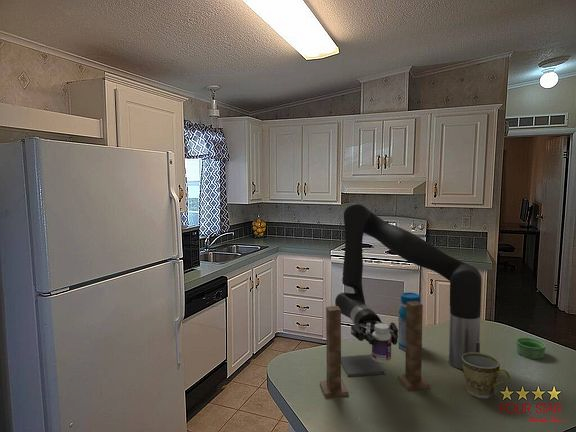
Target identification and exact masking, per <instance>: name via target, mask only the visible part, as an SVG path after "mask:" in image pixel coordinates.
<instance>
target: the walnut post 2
mask: <svg viewBox="0 0 576 432" xmlns="http://www.w3.org/2000/svg"><path fill="white" fill-rule="evenodd" d="M423 307H424V306H423V304H422V303H421V302H420V303H419V302H418V301H412V302H406V351H405V361H404V362H405V363H404V364H405V366H404V367H405V373H402V374H397V379H398V380H399V383H401V385H402V386H403V387H404V388H405V390H407V391H413V390H424V389H425V390H426V389H430V382H428V381H427V380H426V379H425V377H423V375H422V360H423V359H422V357H423V356H422V355H423V353H422V351H423V311H424V310H423Z"/></svg>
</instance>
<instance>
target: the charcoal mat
mask: <svg viewBox="0 0 576 432" xmlns="http://www.w3.org/2000/svg"><path fill="white" fill-rule="evenodd" d="M341 367H342V368H343V369H344V371H345V373H346V376H347V377H358V376H371V375H381V374H382V375H383V374H385V370H384V368H382V366H381V365H380V363H379V362H377V361H375V360H373V358H372V353H371V354H361V355H360V354H358V355H350V356H349V355H348V356H341Z"/></svg>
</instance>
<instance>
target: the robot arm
mask: <svg viewBox="0 0 576 432" xmlns="http://www.w3.org/2000/svg"><path fill="white" fill-rule="evenodd" d="M343 223H344V224H343V226H344V241H345V242H344V255H343V256H344V257H343V266H342V267H343V268H342V280H341V281H342V284H343V285H344V286H346V287H349V288H351V289H353V291H354V293H353V292H352V293H351V292H340V293H339V294H338V295H336V297H335V302H334V304H335V305H334V306H338V307H339V308H340V309H341V315H343V316H345V317H347V318H349V319H350V320H351V321H352V324H353V325H351V326H350V334H351V335H352V336H353V337H354V338H356V339H357V340H358V341H360V342H363V341H364V340H365V342H367V343H368V344H369V345H370V346H371V347H372V346H376V339H375V337H374V336H373V335H372V333H373V332H374V331H375V329H374V328H375V324H378V323H383V324H386V323H384V322H382V319H381V318H380V317H379V315H378V314H376V312H374V310H373V309H372V308H370V307H369V306H368V305H366V300H365V295H364V289H363V272H364V271H363V270H364V258H363V257H364V256H363V237H364V234H366V235H368V236H370V237H372V238H373V239H375V240H377V241H378V242H379V243H381V244H382V245H383V246H384V247H385V248H387V249H388V250H390V251H391V252H392V253H394V254H396V256H398V257H400V258H401V259H404V260H405V261H407V262H409V263H411V264H413V265H415V266H418V267H421V268H424V269H427V270H431V271H432V272H435V273H437V274H438V275H440V276H441V277H443V278H445V279H446V280H448V281H449V335H448V337H449V338H448V339H449V342H448V363H449V365H451V366H452V367H454V368H456V369H459V370H463V365H462V355H463V354H465V353H469V352H477V353H481V337H480V335H481V333H480V332H481V312H482V282H483V281H482V280H483V279H482V275H481V273H480V271H479V270H478V268H476V267H475V266H472V265H471V264H468V263H466V262H464V261H461V260H459V259H457V258H454V257H453V256H451V255H449V254H446V253H444V252H443V251H442V250H440V249H439V248H437V247H435V246H434V244H431V243H429V242H428V241H425V240H424V239H423V238H421V237H420V236H417V235H416V234H414V233H412V232H411V231H409V230H407V229H405V228H402V227H399V226H397V225H394V224H392V223H389V222H387V221H385V220H384V219H382V218H380V217H379V216H377V214H374V212H372V211H370V210H369V208H367V207H366V206H364V205H362V203H357V202H356V203H355V202H354V203H351V204H349V205H348V206H347V207H345V210H344V211H343ZM387 325H388V326H389V333H390V334H391V344H393V345H394V346H396V345H398V341H399V328H398V326H397V325H396V323H395V322H390V324H387Z"/></svg>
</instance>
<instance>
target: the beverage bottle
mask: <svg viewBox="0 0 576 432" xmlns="http://www.w3.org/2000/svg"><path fill="white" fill-rule="evenodd" d="M412 301H418V302H419V303H421V295H420V294H419V293H415V292H403V293H402V292H401V294H400V303H401V306H400V307H399V310H398V314H399V315H398V318H397V319H398V320H397V321H398V340H397V345H398V347H399V348H400V349H401V350H403V351H404V352H406V302H412Z"/></svg>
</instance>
